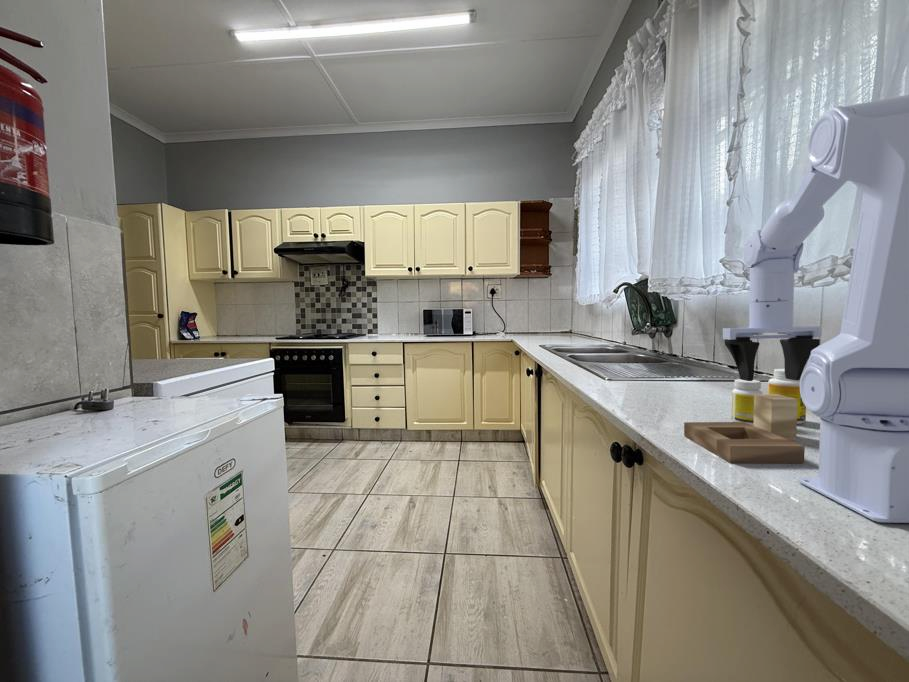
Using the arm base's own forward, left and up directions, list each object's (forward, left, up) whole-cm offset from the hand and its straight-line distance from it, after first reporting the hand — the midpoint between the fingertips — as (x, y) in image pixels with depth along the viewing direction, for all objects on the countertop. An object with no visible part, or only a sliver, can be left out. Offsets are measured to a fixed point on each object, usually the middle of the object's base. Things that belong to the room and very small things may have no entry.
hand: (769, 379), depth 62 cm
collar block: (-6, +9, -10) cm, 15 cm away
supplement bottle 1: (+8, -2, -10) cm, 13 cm away
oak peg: (0, -1, -10) cm, 10 cm away
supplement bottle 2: (+9, -10, -10) cm, 16 cm away
